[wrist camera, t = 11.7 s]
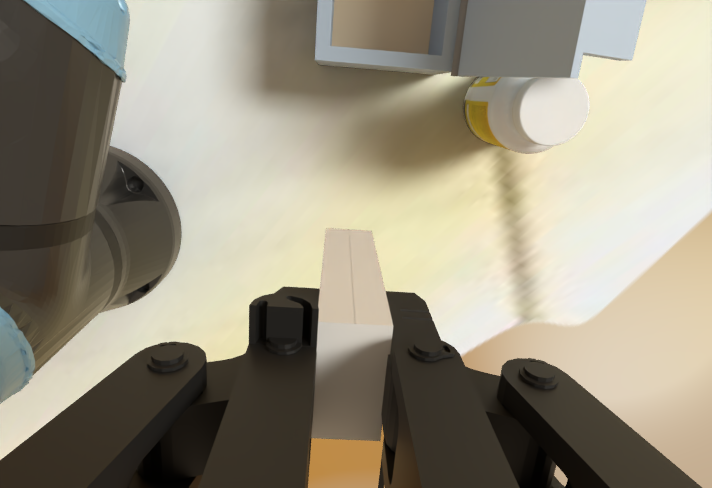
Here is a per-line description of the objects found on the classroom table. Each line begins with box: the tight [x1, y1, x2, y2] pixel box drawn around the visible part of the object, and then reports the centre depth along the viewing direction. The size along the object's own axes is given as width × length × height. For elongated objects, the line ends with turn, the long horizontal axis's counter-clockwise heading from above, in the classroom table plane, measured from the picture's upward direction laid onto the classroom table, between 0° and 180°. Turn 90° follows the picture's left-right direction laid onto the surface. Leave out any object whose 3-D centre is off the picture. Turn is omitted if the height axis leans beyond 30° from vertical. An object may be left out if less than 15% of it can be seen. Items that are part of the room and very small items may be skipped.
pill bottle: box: [463, 77, 590, 154], centre depth 36 cm, size 6×6×12 cm
